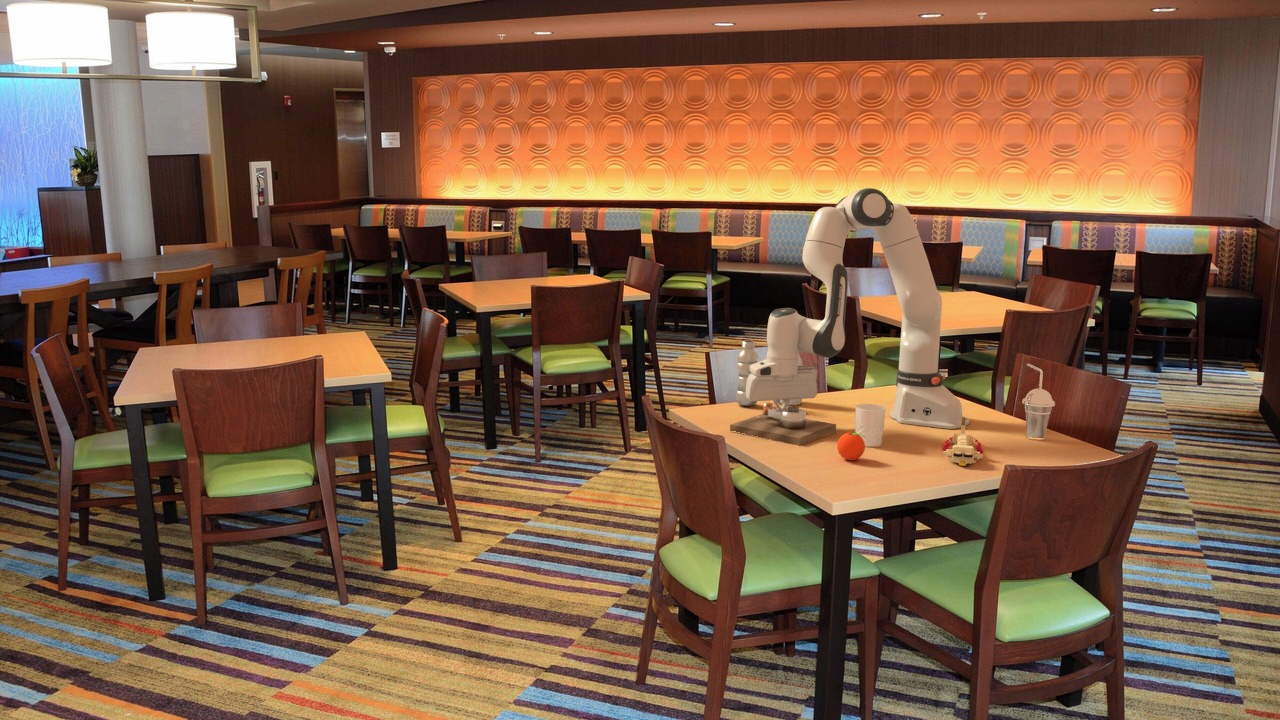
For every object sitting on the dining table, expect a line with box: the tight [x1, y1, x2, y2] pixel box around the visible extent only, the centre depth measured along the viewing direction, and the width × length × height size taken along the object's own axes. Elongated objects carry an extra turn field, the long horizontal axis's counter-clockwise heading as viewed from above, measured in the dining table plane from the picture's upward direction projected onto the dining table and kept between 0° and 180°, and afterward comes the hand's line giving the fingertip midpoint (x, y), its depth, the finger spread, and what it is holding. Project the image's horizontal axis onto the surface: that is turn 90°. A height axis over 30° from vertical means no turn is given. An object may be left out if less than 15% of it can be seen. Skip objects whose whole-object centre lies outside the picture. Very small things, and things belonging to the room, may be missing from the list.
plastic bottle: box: [735, 340, 759, 407], centre depth 320 cm, size 6×7×20 cm
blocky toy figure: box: [942, 416, 984, 467], centre depth 269 cm, size 10×9×25 cm
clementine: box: [836, 432, 869, 461], centre depth 264 cm, size 8×7×7 cm
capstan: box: [762, 402, 807, 428], centre depth 292 cm, size 16×7×5 cm, turn 32°
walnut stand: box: [729, 413, 837, 446], centre depth 291 cm, size 22×20×2 cm
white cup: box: [854, 403, 887, 448], centre depth 279 cm, size 8×8×10 cm
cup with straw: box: [1021, 363, 1056, 439], centre depth 286 cm, size 8×9×20 cm
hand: (780, 414), depth 296 cm, fingers closed
